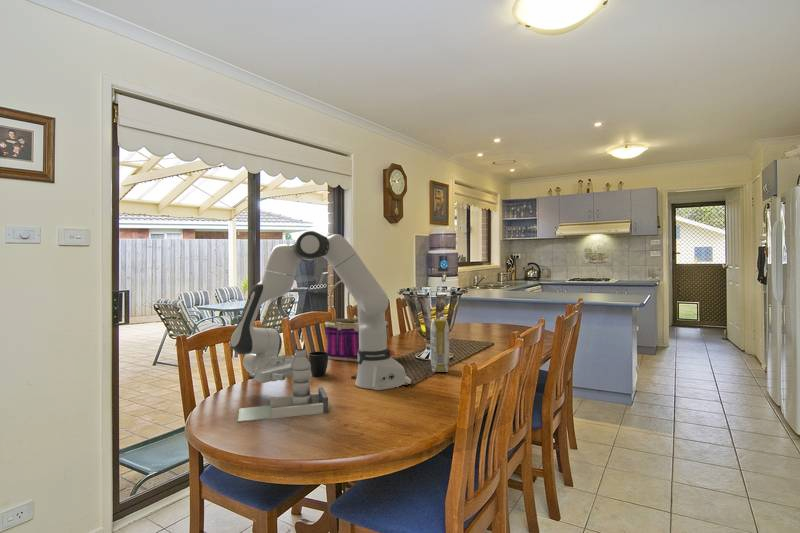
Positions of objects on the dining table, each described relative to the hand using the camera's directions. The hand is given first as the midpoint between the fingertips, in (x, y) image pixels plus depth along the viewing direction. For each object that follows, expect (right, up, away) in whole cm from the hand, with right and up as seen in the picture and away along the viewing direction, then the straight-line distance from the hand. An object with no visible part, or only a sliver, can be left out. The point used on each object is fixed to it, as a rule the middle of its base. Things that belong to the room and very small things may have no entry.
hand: (295, 374), depth 155 cm
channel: (+1, -11, -3) cm, 11 cm away
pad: (-12, -11, -7) cm, 18 cm away
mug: (+1, -10, +43) cm, 44 cm away
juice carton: (+53, -9, +46) cm, 71 cm away
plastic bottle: (+3, -11, -2) cm, 12 cm away
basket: (+14, -9, +74) cm, 75 cm away
